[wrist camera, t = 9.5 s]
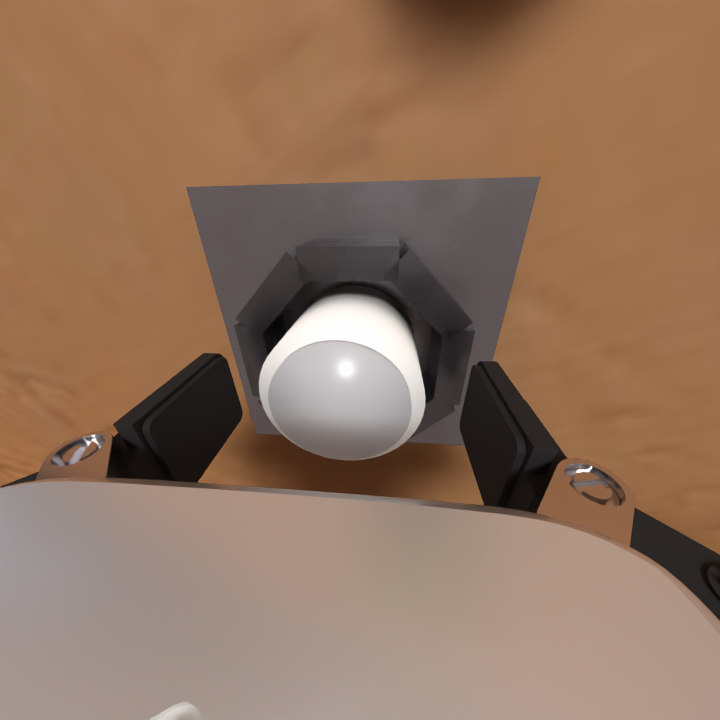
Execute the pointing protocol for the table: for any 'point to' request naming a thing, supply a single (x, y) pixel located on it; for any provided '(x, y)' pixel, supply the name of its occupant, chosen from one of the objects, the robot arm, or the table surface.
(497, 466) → the robot arm
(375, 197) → the octagonal hole plate
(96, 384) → the table surface
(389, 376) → the cap
